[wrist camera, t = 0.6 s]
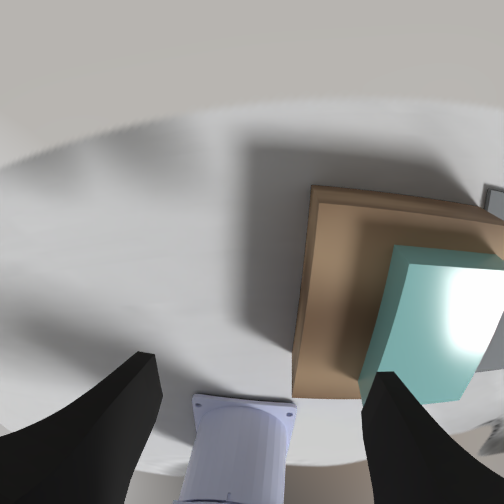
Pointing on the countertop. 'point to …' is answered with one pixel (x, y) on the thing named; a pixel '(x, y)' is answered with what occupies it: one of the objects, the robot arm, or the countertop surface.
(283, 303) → the countertop surface
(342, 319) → the block
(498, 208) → the mat
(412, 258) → the tile
